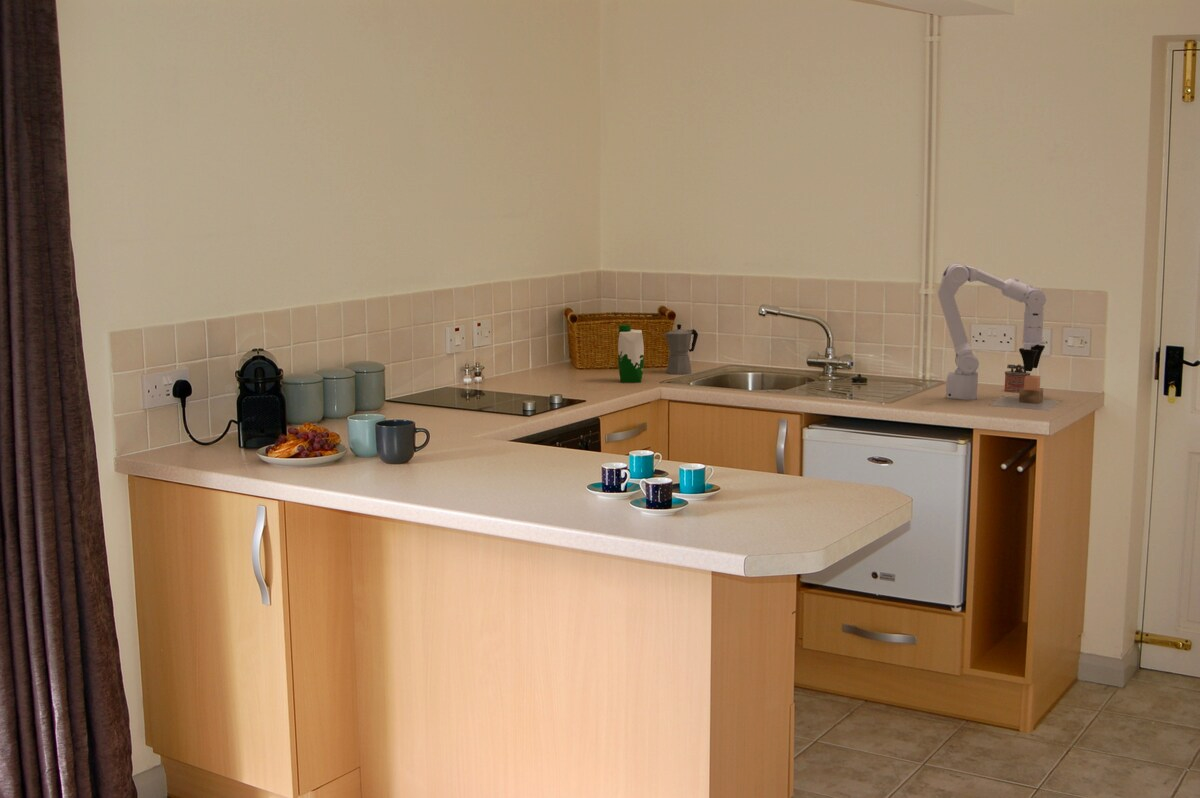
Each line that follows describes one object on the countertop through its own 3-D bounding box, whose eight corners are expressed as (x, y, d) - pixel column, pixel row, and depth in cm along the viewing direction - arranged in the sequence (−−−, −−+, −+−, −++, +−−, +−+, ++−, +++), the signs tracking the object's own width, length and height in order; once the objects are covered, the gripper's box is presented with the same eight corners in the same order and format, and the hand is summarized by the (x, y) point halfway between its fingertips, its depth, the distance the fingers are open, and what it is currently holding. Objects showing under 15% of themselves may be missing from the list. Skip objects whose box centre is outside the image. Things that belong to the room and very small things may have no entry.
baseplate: (988, 408, 398) (988, 405, 398) (1001, 399, 413) (1002, 396, 413) (1048, 413, 389) (1049, 410, 389) (1060, 404, 404) (1060, 401, 404)
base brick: (1018, 402, 403) (1019, 389, 402) (1023, 399, 408) (1023, 386, 407) (1038, 403, 400) (1039, 391, 399) (1042, 400, 405) (1043, 388, 404)
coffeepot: (672, 376, 466) (673, 326, 463) (656, 372, 473) (656, 324, 470) (705, 372, 475) (705, 323, 471) (689, 369, 482) (689, 321, 479)
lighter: (1029, 394, 422) (1031, 364, 420) (1028, 396, 419) (1030, 365, 417) (1004, 392, 426) (1005, 363, 424) (1003, 394, 423) (1004, 364, 421)
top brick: (1023, 389, 402) (1024, 376, 402) (1026, 387, 406) (1027, 375, 405) (1037, 390, 400) (1037, 377, 400) (1039, 388, 404) (1040, 376, 403)
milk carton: (618, 379, 460) (618, 323, 456) (643, 379, 459) (643, 323, 456) (618, 383, 451) (618, 326, 447) (644, 383, 451) (643, 326, 447)
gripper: (1041, 330, 397) (1039, 373, 399) (1051, 325, 409) (1048, 367, 411) (1017, 328, 400) (1015, 371, 403) (1028, 323, 413) (1026, 365, 415)
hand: (1031, 369), depth 407 cm, fingers open, 7 cm apart
